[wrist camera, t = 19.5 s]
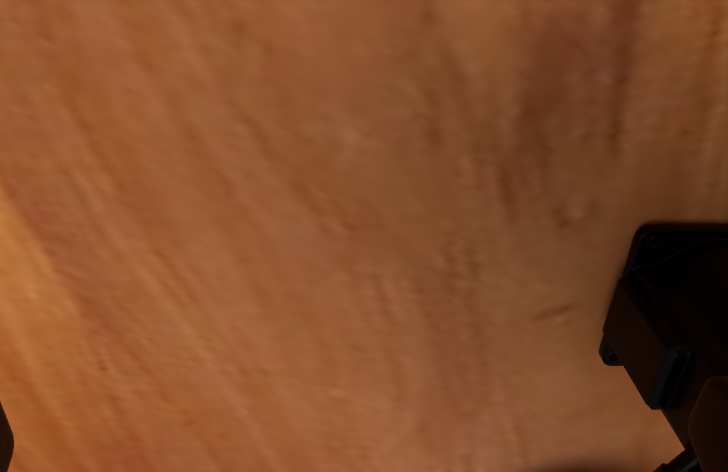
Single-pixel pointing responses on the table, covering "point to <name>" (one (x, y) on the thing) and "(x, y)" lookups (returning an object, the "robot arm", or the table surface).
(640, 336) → the robot arm
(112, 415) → the table surface
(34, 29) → the table surface
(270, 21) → the table surface
